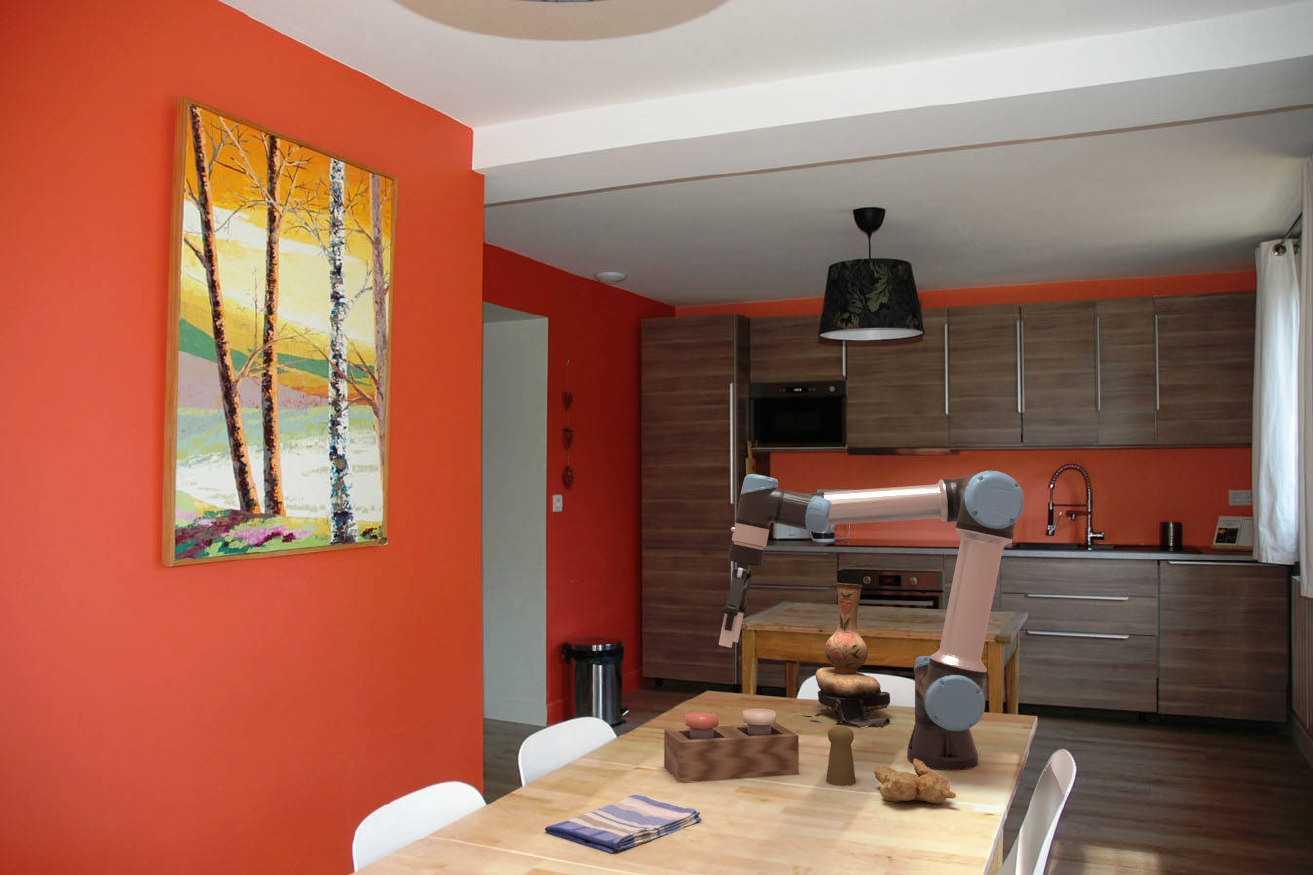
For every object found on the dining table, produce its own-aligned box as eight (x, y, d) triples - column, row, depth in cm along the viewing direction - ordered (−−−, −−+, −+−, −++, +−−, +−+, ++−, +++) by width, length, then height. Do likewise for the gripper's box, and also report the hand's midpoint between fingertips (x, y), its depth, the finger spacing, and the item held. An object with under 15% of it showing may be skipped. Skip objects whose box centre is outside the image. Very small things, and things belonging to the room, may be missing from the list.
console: (776, 759, 226) (776, 723, 227) (798, 774, 215) (798, 735, 215) (664, 767, 220) (664, 729, 220) (680, 782, 208) (680, 742, 208)
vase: (906, 714, 274) (906, 583, 276) (877, 730, 255) (876, 589, 257) (824, 704, 287) (824, 578, 289) (791, 718, 268) (791, 584, 270)
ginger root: (956, 810, 187) (944, 765, 189) (871, 821, 192) (860, 777, 194) (962, 790, 202) (952, 749, 203) (883, 801, 207) (873, 760, 208)
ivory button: (768, 740, 224) (768, 707, 224) (780, 747, 217) (780, 714, 217) (738, 742, 222) (738, 709, 222) (749, 749, 215) (749, 716, 215)
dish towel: (704, 824, 184) (704, 808, 184) (615, 859, 166) (615, 841, 166) (632, 804, 195) (633, 789, 195) (542, 835, 177) (542, 819, 177)
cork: (855, 786, 206) (855, 731, 207) (825, 784, 207) (825, 729, 208) (856, 778, 212) (856, 724, 213) (826, 776, 213) (826, 723, 214)
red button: (712, 743, 220) (712, 710, 220) (722, 751, 213) (722, 717, 214) (680, 745, 218) (681, 712, 219) (690, 753, 211) (690, 719, 212)
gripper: (736, 543, 233) (718, 635, 232) (724, 541, 209) (703, 644, 207) (769, 550, 232) (750, 642, 230) (760, 548, 208) (740, 652, 206)
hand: (728, 643), depth 219 cm, fingers open, 13 cm apart
